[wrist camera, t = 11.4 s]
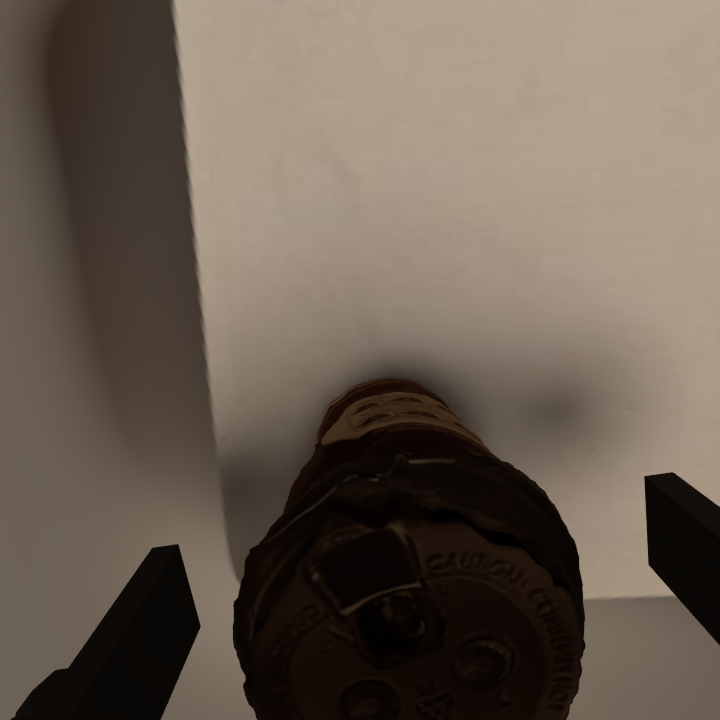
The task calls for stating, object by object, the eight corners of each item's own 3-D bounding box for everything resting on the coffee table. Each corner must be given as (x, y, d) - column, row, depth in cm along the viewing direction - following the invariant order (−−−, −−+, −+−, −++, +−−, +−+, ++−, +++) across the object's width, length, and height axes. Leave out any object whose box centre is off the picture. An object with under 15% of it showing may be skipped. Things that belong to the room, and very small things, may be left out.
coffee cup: (321, 324, 22) (269, 428, 9) (505, 372, 23) (692, 532, 10) (276, 504, 24) (182, 793, 11) (447, 545, 24) (542, 868, 12)
